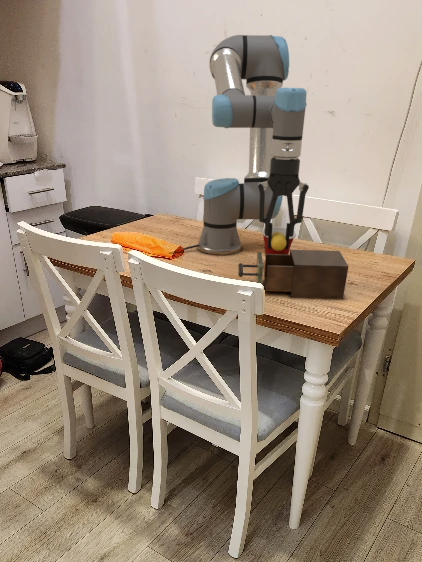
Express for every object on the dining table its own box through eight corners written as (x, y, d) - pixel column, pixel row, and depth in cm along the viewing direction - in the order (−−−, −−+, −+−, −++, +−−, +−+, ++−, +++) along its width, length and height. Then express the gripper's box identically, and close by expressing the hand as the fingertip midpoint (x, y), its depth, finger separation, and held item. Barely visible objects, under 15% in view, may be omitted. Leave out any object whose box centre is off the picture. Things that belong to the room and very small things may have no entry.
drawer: (237, 292, 137) (238, 265, 133) (237, 276, 148) (238, 251, 144) (304, 294, 137) (308, 267, 133) (300, 278, 147) (302, 253, 143)
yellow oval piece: (271, 252, 133) (272, 237, 131) (269, 244, 140) (270, 229, 138) (286, 253, 133) (287, 237, 131) (283, 244, 140) (285, 229, 138)
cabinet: (291, 297, 137) (294, 264, 132) (286, 280, 148) (290, 249, 143) (343, 299, 136) (348, 266, 131) (334, 281, 148) (339, 250, 143)
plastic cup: (269, 275, 151) (272, 237, 145) (253, 264, 160) (255, 228, 153) (298, 271, 155) (303, 234, 149) (281, 261, 164) (285, 225, 157)
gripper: (252, 158, 121) (247, 250, 133) (321, 160, 120) (310, 252, 133) (251, 154, 127) (246, 242, 140) (317, 156, 127) (306, 244, 139)
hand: (277, 247), depth 136 cm, fingers closed on yellow oval piece, 4 cm apart
